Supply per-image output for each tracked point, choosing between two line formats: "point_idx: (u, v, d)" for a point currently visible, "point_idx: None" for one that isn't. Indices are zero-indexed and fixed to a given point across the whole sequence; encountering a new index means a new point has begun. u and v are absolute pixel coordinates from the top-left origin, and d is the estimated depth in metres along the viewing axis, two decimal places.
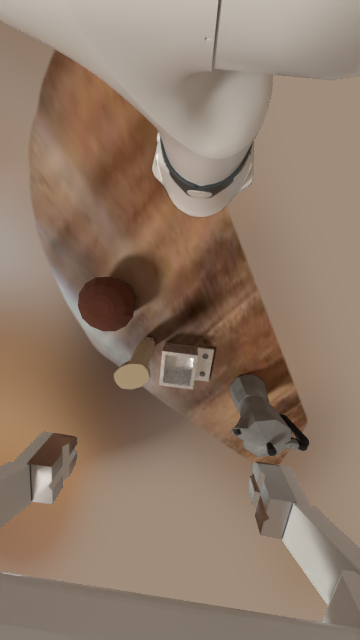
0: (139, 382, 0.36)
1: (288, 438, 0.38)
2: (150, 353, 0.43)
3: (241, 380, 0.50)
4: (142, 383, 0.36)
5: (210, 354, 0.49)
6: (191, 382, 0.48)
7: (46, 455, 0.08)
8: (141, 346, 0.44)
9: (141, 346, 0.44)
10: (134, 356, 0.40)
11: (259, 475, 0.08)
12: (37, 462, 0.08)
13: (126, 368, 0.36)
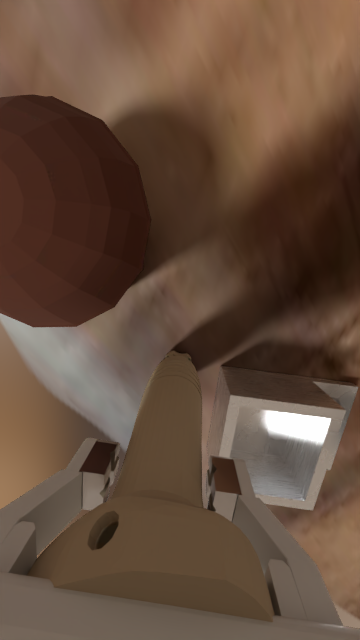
0: None
1: None
2: (200, 408, 0.12)
3: None
4: None
5: (346, 399, 0.18)
6: (310, 491, 0.16)
7: (96, 462, 0.08)
8: (168, 382, 0.12)
9: (167, 380, 0.13)
10: (147, 435, 0.09)
11: (212, 468, 0.08)
12: (89, 469, 0.08)
13: None
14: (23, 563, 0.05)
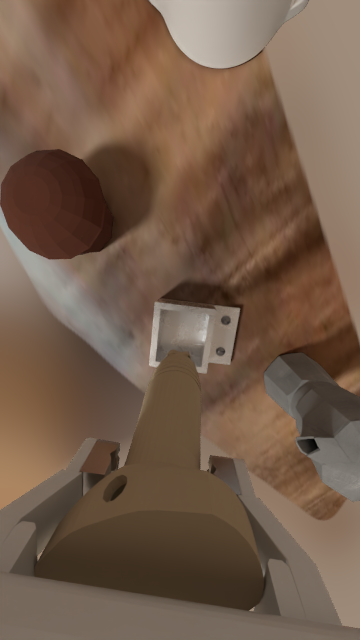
0: None
1: None
2: (199, 398, 0.13)
3: (285, 361, 0.30)
4: None
5: (234, 316, 0.30)
6: (203, 361, 0.28)
7: (96, 462, 0.08)
8: (168, 376, 0.14)
9: (167, 375, 0.14)
10: (150, 421, 0.10)
11: (211, 468, 0.08)
12: (89, 470, 0.08)
13: (113, 537, 0.05)
14: (24, 563, 0.05)
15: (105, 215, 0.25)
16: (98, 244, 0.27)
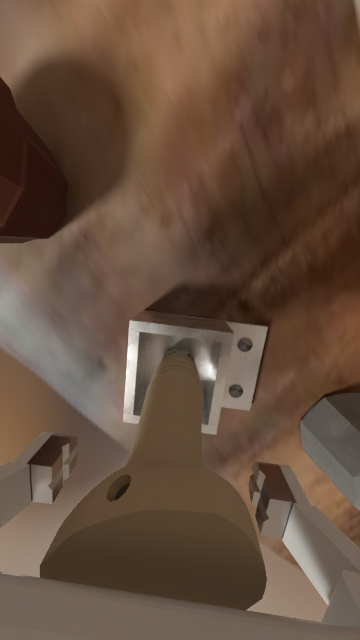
0: None
1: None
2: (200, 397, 0.13)
3: (338, 408, 0.19)
4: None
5: (258, 339, 0.19)
6: (212, 415, 0.17)
7: (46, 455, 0.08)
8: (169, 375, 0.14)
9: (168, 374, 0.14)
10: (152, 420, 0.10)
11: (259, 475, 0.08)
12: (37, 462, 0.08)
13: (118, 536, 0.05)
14: None
15: (41, 171, 0.15)
16: (38, 224, 0.17)
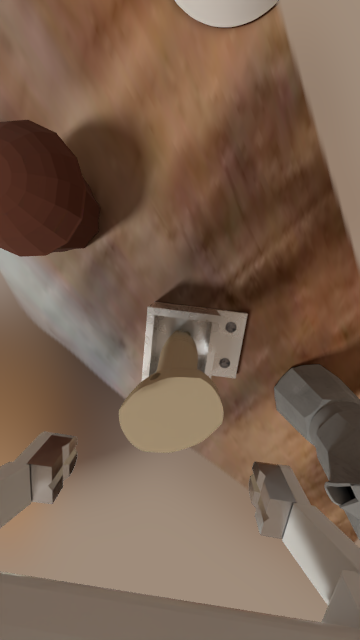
0: (193, 432, 0.13)
1: None
2: (196, 356, 0.20)
3: (300, 374, 0.26)
4: (202, 434, 0.13)
5: (240, 323, 0.26)
6: None
7: (46, 455, 0.08)
8: (175, 342, 0.20)
9: (175, 342, 0.20)
10: (167, 362, 0.17)
11: (259, 475, 0.08)
12: (37, 462, 0.08)
13: (156, 392, 0.12)
14: None
15: (88, 204, 0.21)
16: (81, 239, 0.23)
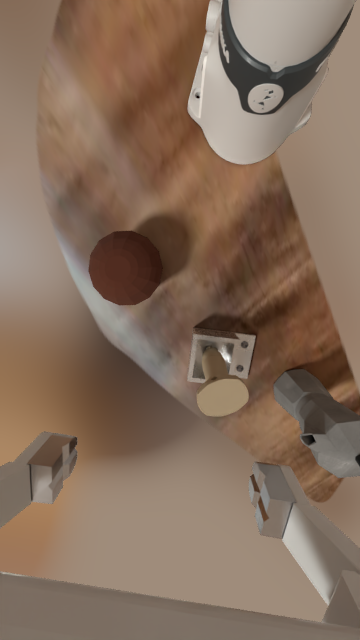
0: (233, 405, 0.26)
1: None
2: (226, 366, 0.33)
3: (290, 376, 0.39)
4: (237, 407, 0.26)
5: (251, 342, 0.39)
6: None
7: (46, 455, 0.08)
8: (213, 357, 0.33)
9: (212, 356, 0.33)
10: (213, 370, 0.30)
11: (259, 475, 0.08)
12: (37, 462, 0.08)
13: (216, 386, 0.25)
14: None
15: None
16: None
